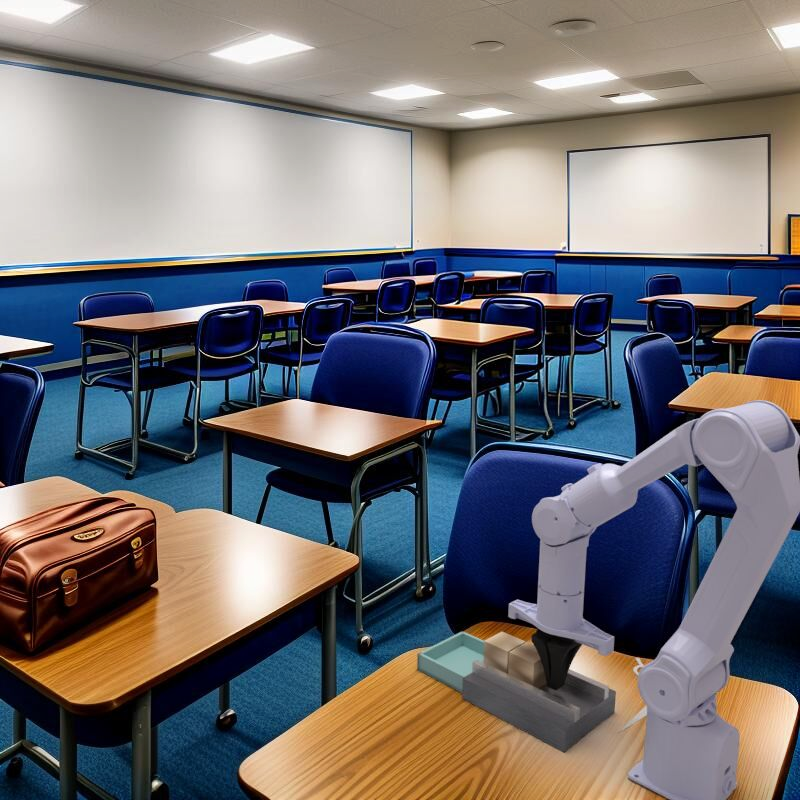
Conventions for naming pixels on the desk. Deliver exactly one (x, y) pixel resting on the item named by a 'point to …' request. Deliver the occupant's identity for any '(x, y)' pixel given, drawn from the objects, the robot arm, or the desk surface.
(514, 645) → the block
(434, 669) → the tray
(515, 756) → the desk surface
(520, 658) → the block
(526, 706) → the slot board
